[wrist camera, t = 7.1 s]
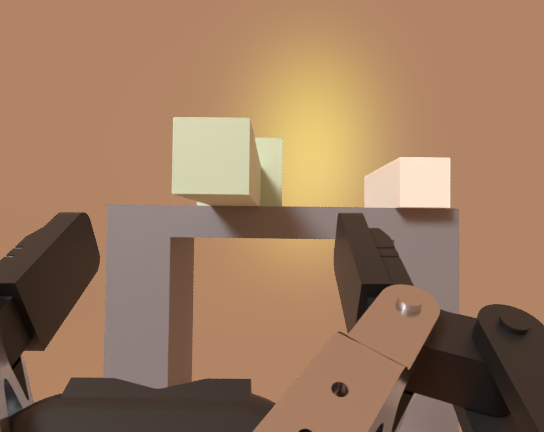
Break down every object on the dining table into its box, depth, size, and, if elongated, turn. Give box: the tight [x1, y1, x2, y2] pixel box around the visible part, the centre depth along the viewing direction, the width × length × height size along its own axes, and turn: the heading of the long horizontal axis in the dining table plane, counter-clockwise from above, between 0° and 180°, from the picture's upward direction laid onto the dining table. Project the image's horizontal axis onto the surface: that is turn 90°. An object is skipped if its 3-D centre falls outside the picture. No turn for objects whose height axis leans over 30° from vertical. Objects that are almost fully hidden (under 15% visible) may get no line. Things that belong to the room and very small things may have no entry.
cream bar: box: [364, 157, 450, 208], centre depth 27 cm, size 3×9×3 cm, turn 0°
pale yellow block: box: [172, 117, 282, 207], centre depth 23 cm, size 6×16×5 cm, turn 0°
